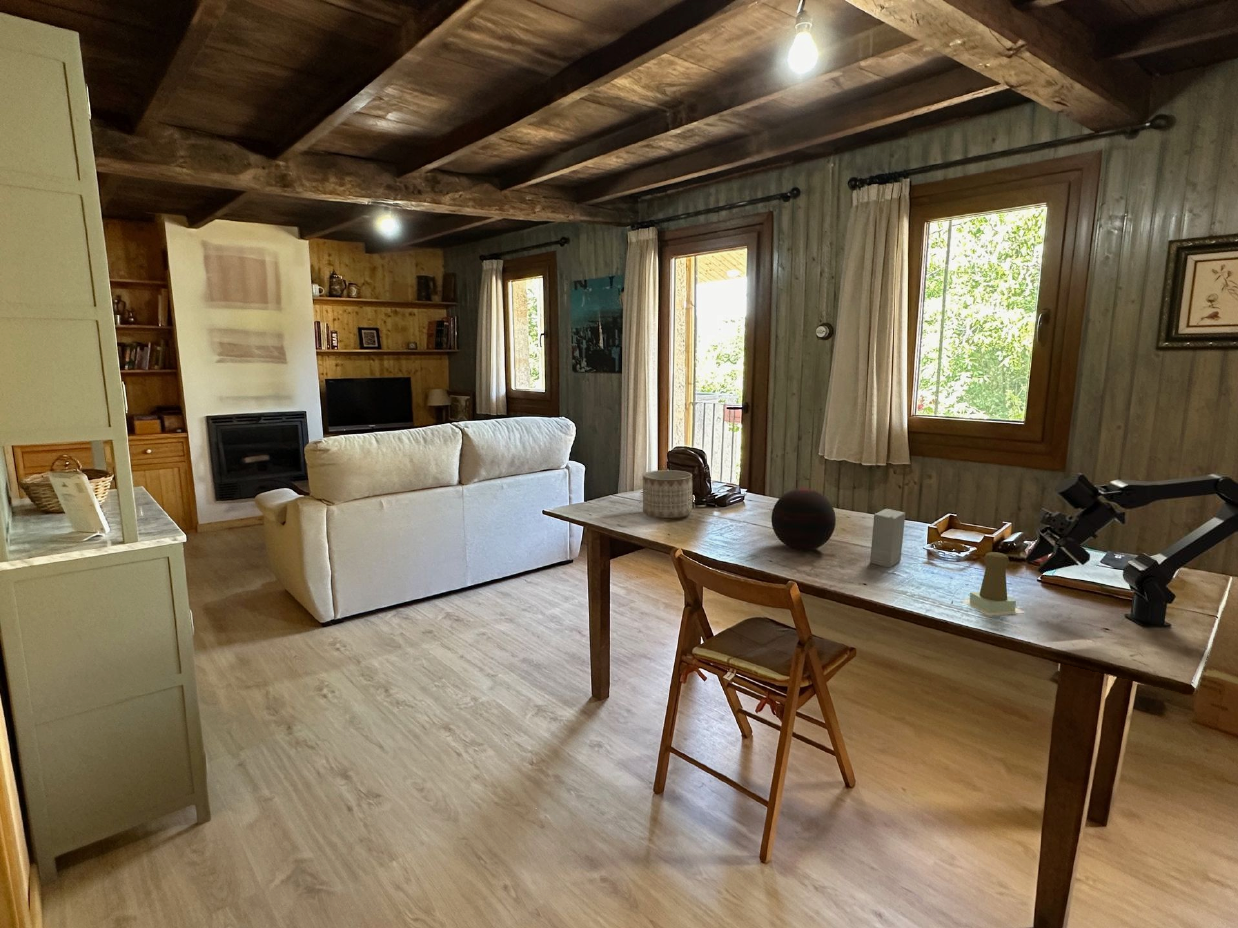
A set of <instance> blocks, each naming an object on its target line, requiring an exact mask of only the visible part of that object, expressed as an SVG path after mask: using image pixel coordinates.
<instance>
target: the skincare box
mask: <svg viewBox="0 0 1238 928" xmlns="http://www.w3.org/2000/svg"><path fill="white" fill-rule="evenodd" d="M905 520H906V512H903V511H899V510H894V509H889V508H885V509H882V510H880V511H879V512H876V513H874V514H873V523H872V524H873V525H872V538H871V549H870V560H869V563H870V564H874V565H878V566H881V567H885V568H892V567H893V566H894V565H896V564H897V563H899V562H901V559H902V551H903V543H904V542H903V540H904V530H905V522H906V521H905Z"/></svg>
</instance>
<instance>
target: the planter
mask: <svg viewBox="0 0 1238 928" xmlns="http://www.w3.org/2000/svg"><path fill="white" fill-rule="evenodd" d="M642 512H643V514H645V515H646V516H649V517H652V518H657V519H660V520H661V519H662V520H673V519H678V518H682V517H683V518H684V517H687V516H689V515H691V514H692V513H693V474H692V472H688V471H684V470H675V469H674V470H672V469H668V470H667V469H665V470H664V469H663V470H662V469H660V470H652V471H651V470H650V471H647V472H644V473H642Z"/></svg>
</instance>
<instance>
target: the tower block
mask: <svg viewBox="0 0 1238 928" xmlns="http://www.w3.org/2000/svg"><path fill="white" fill-rule="evenodd" d="M979 594H980V591H970V593H969V599H970V602H971V603H973V604H974V605H976V606H978V607H980V608H981V609H983V610H985V611H987V612H988V613H990V612H1003V611H1015V607H1016V605H1017V600H1015V599H1013V598H1012V597H1009V596H1008V595H1007V600H1005V601H993V600H988V599H985V598H983V597H981V596H980V595H979ZM1016 608H1017V607H1016Z"/></svg>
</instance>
